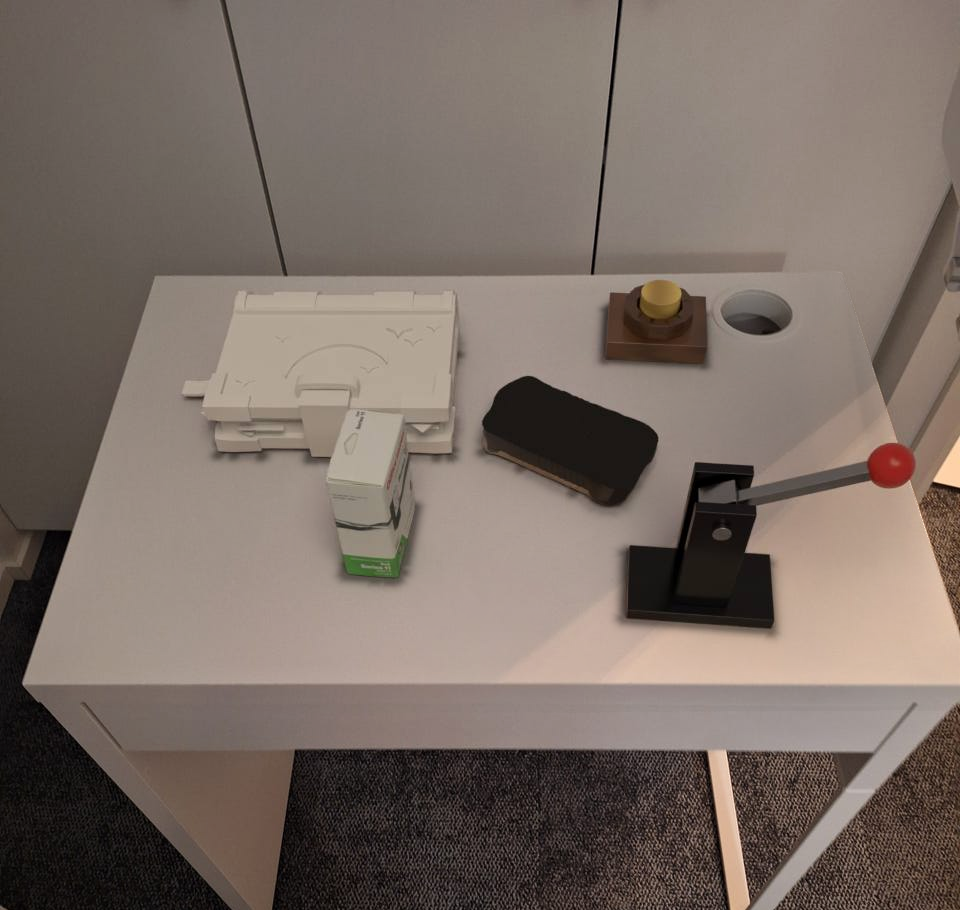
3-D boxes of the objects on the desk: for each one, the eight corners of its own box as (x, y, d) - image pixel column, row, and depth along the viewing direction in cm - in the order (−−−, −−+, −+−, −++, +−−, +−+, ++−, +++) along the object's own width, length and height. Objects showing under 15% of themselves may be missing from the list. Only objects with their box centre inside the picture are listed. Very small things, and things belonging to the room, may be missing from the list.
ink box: (399, 580, 83) (383, 487, 73) (344, 574, 83) (321, 481, 73) (418, 505, 87) (405, 408, 77) (366, 500, 88) (347, 403, 78)
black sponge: (663, 460, 89) (668, 432, 86) (619, 518, 86) (623, 490, 83) (518, 397, 95) (517, 368, 92) (470, 449, 91) (468, 420, 88)
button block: (702, 313, 101) (709, 281, 97) (703, 364, 96) (710, 332, 93) (608, 309, 102) (611, 277, 98) (605, 359, 97) (608, 327, 94)
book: (206, 330, 102) (186, 268, 96) (466, 330, 100) (462, 267, 94) (166, 462, 91) (140, 402, 85) (455, 464, 90) (451, 403, 84)
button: (679, 295, 97) (681, 280, 95) (679, 320, 95) (681, 305, 93) (639, 293, 97) (641, 278, 96) (639, 318, 95) (640, 303, 94)
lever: (914, 458, 68) (909, 427, 66) (921, 492, 66) (915, 461, 64) (707, 505, 74) (696, 479, 72) (708, 537, 73) (697, 510, 70)
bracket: (767, 562, 82) (804, 458, 72) (771, 629, 79) (811, 529, 68) (628, 553, 83) (644, 449, 73) (625, 618, 80) (643, 518, 69)
